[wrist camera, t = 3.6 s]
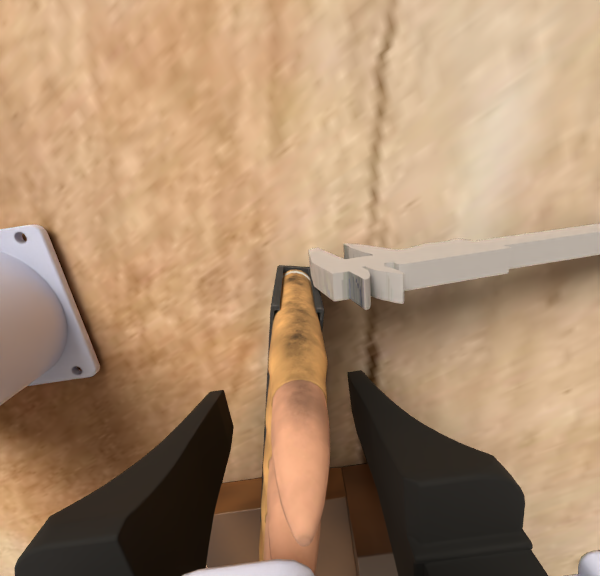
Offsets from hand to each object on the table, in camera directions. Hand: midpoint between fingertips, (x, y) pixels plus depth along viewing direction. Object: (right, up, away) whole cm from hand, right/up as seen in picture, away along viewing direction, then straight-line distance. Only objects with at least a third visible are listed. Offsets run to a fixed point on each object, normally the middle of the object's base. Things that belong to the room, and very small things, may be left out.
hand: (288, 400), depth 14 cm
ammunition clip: (0, +1, +3) cm, 4 cm away
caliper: (+11, +8, +2) cm, 13 cm away
